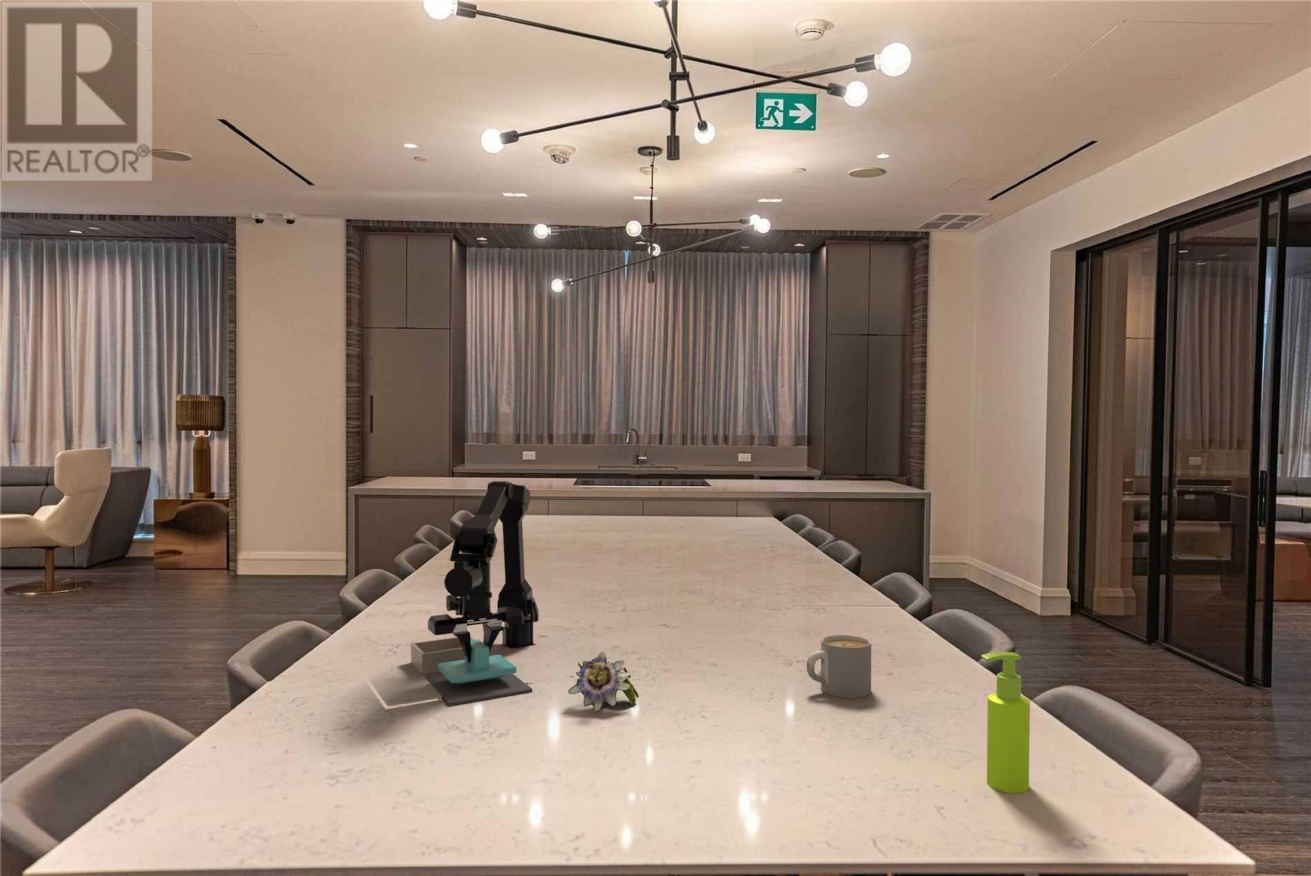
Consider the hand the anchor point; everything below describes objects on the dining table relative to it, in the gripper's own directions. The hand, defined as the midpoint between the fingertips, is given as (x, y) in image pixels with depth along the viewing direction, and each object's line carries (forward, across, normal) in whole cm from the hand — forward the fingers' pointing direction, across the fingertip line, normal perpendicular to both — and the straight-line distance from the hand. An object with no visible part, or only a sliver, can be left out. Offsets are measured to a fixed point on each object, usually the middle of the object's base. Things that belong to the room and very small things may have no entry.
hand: (476, 661), depth 174 cm
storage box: (+5, +2, -16) cm, 17 cm away
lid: (+3, 0, 0) cm, 3 cm away
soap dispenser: (+5, -55, +85) cm, 101 cm away
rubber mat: (+5, 0, 0) cm, 5 cm away
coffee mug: (+5, -63, +39) cm, 74 cm away
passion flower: (+5, -18, +23) cm, 30 cm away
